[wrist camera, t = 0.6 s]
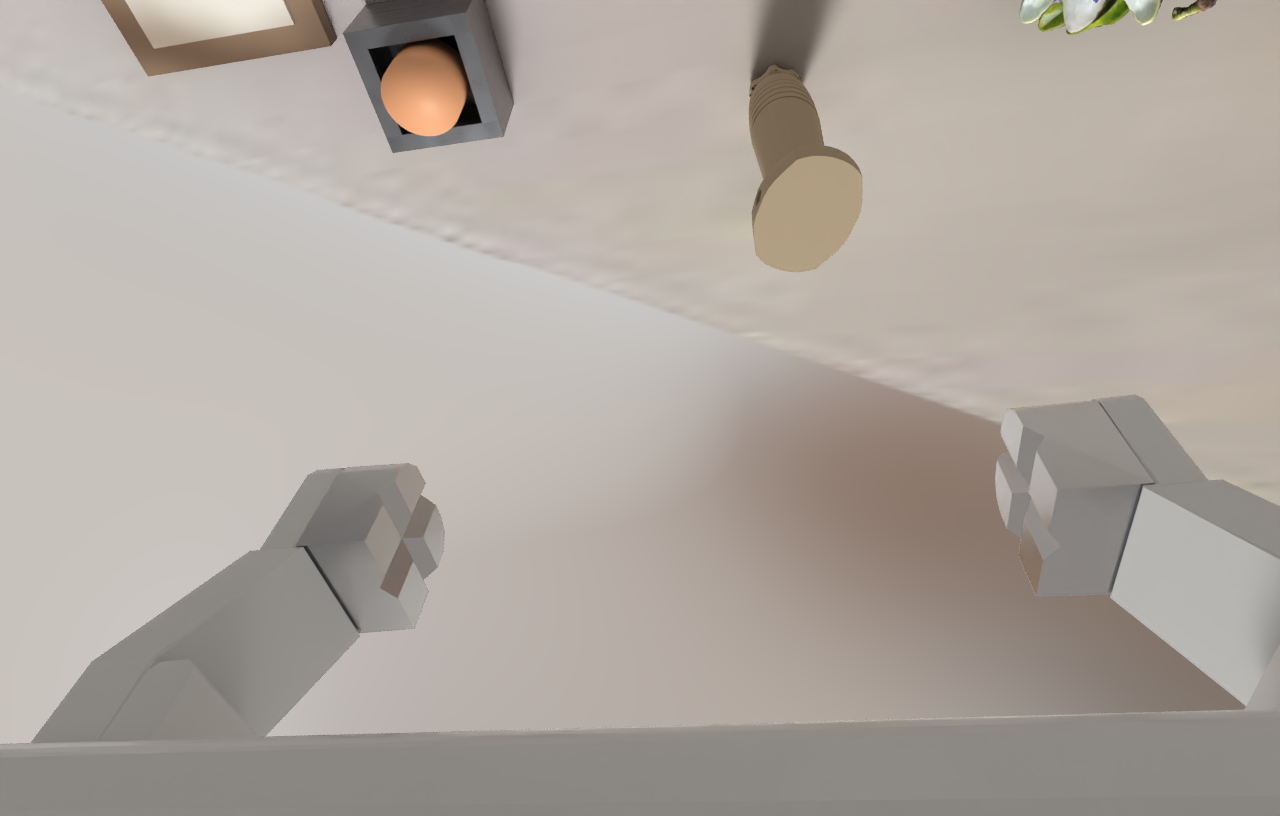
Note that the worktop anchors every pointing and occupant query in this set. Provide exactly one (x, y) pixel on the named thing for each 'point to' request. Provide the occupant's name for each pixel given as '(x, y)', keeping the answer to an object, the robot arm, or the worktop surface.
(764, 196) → the handle
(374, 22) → the button housing
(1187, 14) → the passion flower
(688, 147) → the worktop surface
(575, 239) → the worktop surface
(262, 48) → the board
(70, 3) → the worktop surface
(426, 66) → the button
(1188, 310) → the worktop surface
